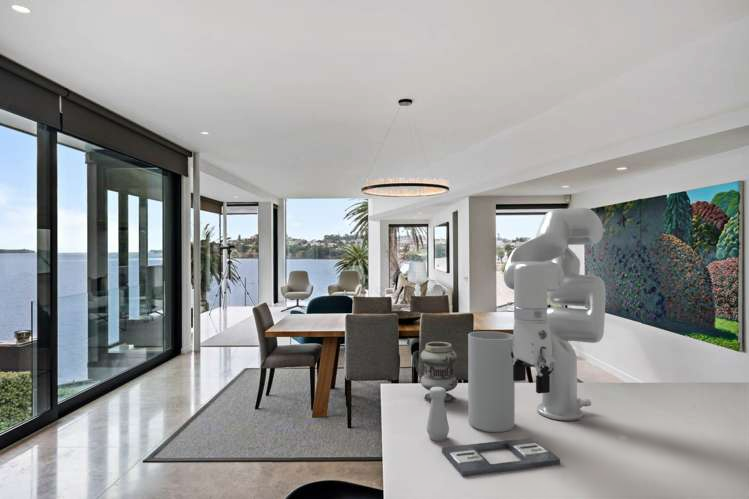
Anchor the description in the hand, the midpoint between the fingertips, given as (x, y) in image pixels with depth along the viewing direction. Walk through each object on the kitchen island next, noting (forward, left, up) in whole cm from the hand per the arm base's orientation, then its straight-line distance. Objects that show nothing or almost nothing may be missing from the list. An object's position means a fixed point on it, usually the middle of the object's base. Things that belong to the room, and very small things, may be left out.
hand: (530, 386), depth 107 cm
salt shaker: (+18, -14, -16) cm, 28 cm away
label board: (+8, 0, -16) cm, 18 cm away
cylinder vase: (0, -19, -16) cm, 25 cm away
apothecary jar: (+6, -43, -16) cm, 46 cm away
